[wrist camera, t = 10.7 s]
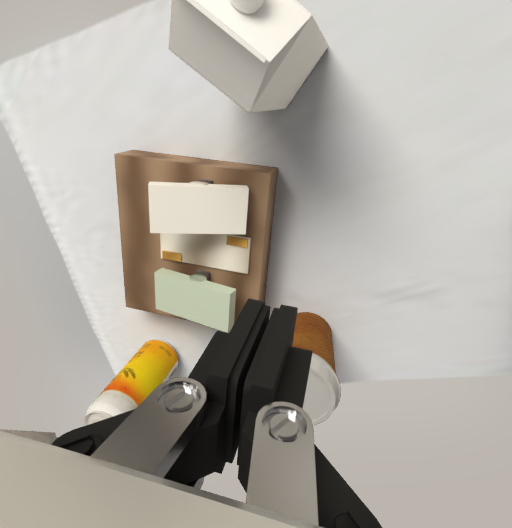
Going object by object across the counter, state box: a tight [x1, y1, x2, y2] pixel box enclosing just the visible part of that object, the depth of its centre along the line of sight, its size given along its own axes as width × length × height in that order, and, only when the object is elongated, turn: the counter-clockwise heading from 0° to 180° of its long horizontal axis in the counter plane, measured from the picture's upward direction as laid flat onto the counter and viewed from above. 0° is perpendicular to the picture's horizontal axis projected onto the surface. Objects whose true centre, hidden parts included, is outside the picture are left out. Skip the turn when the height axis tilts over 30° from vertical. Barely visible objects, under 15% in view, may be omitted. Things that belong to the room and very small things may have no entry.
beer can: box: [84, 340, 178, 426], centre depth 51 cm, size 6×6×15 cm
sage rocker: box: [154, 268, 236, 333], centre depth 44 cm, size 10×5×2 cm, turn 85°
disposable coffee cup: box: [292, 312, 341, 426], centre depth 45 cm, size 10×10×12 cm
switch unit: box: [114, 150, 278, 323], centre depth 46 cm, size 18×20×5 cm
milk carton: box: [169, 0, 328, 113], centre depth 30 cm, size 7×7×19 cm
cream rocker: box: [148, 181, 249, 235], centre depth 40 cm, size 10×5×2 cm, turn 86°
